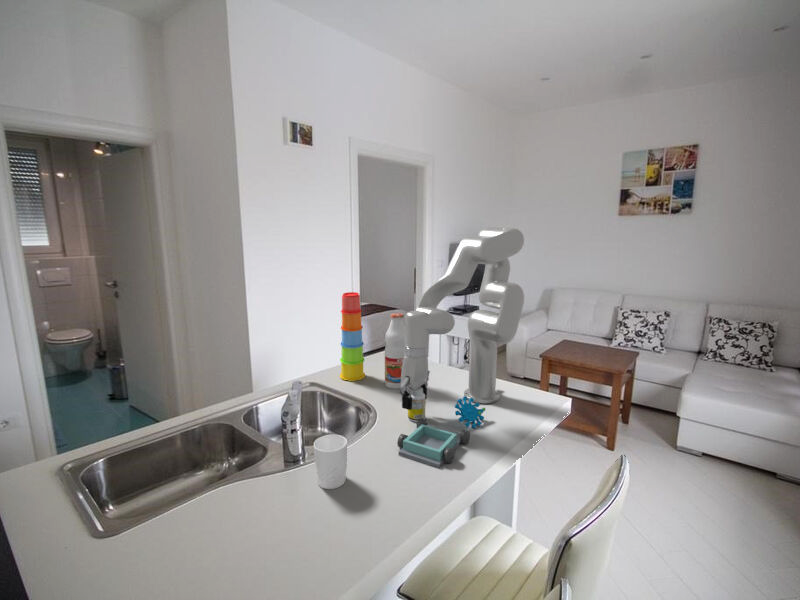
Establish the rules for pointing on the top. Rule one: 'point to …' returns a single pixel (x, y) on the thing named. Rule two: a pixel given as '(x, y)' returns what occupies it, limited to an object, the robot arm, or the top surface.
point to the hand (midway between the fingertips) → (414, 403)
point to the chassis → (431, 444)
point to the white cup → (331, 460)
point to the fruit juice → (394, 351)
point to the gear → (469, 412)
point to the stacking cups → (351, 338)
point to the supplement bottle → (417, 405)
